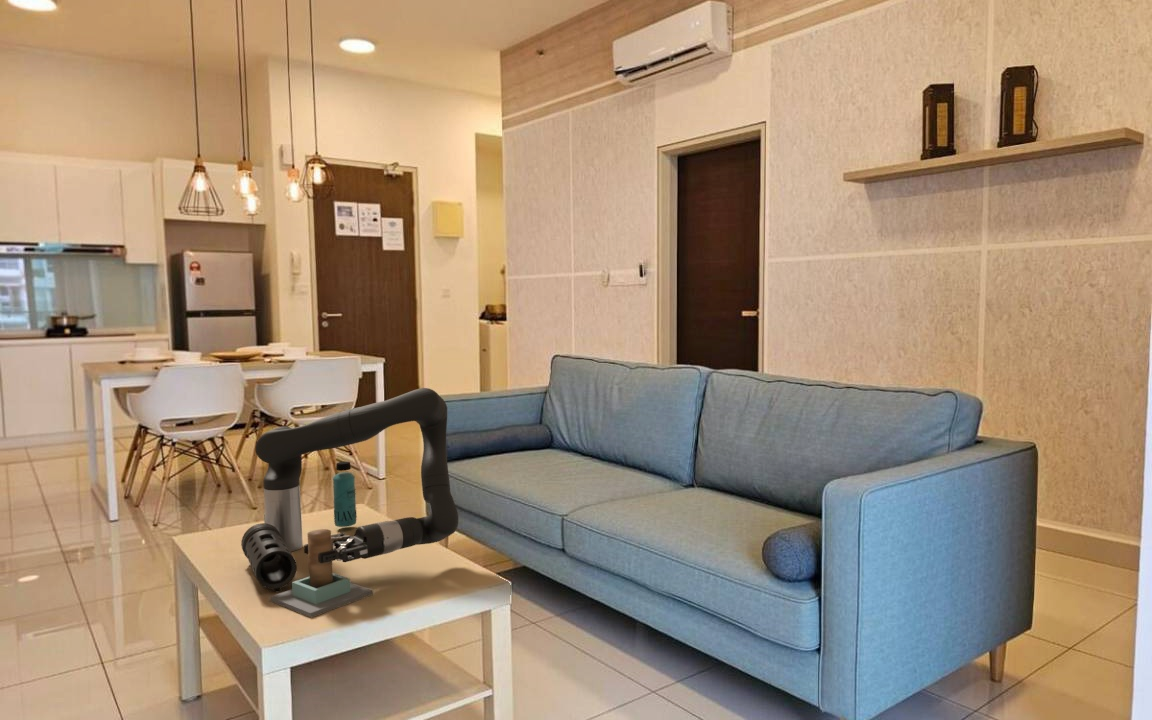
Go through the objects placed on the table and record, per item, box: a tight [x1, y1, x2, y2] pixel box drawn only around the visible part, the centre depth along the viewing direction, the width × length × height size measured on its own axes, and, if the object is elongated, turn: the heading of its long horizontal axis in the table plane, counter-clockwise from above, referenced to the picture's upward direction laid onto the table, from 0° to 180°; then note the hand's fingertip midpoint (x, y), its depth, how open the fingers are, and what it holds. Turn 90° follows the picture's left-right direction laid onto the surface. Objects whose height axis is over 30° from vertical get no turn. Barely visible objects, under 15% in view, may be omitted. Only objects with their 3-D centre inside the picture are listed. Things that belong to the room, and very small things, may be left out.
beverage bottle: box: [332, 461, 358, 528], centre depth 229 cm, size 6×7×20 cm
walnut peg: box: [306, 528, 334, 588], centre depth 175 cm, size 5×5×14 cm
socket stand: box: [269, 572, 374, 619], centre depth 175 cm, size 16×16×4 cm
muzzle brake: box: [240, 523, 298, 593], centre depth 191 cm, size 10×28×10 cm, turn 29°
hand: (311, 554), depth 173 cm, fingers open, 8 cm apart
